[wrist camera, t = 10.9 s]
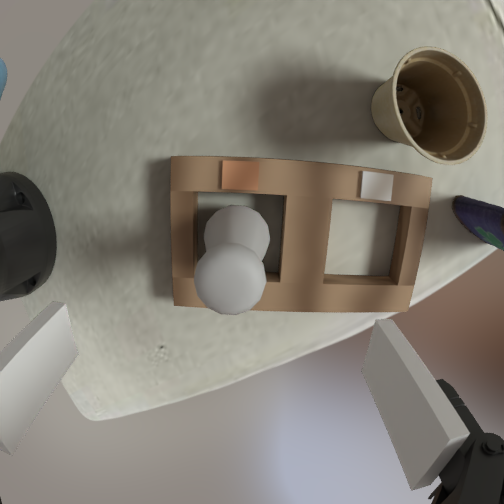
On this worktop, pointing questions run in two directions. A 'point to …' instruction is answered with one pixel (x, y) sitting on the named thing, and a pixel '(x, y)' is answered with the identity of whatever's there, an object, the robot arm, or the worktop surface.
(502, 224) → the flask
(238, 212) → the salt shaker
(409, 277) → the socket board
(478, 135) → the flower pot
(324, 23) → the worktop surface
